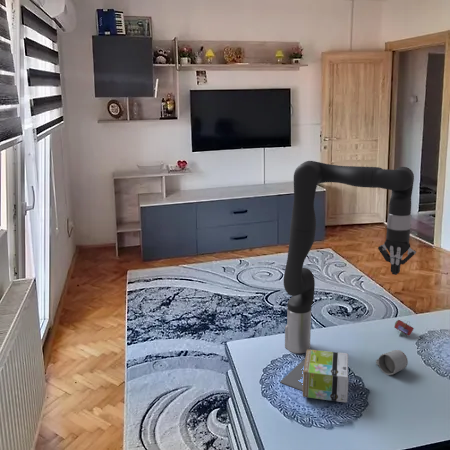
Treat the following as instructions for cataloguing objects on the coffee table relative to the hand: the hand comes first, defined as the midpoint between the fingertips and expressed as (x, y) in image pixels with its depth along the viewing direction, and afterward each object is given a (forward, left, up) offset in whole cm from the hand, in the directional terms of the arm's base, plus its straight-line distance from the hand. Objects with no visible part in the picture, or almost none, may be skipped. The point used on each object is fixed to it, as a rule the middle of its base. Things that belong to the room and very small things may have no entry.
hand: (395, 273), depth 172 cm
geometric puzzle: (-3, +28, -37) cm, 47 cm away
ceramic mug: (+1, -1, -37) cm, 37 cm away
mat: (-21, -21, -37) cm, 47 cm away
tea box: (-6, -23, -31) cm, 39 cm away
